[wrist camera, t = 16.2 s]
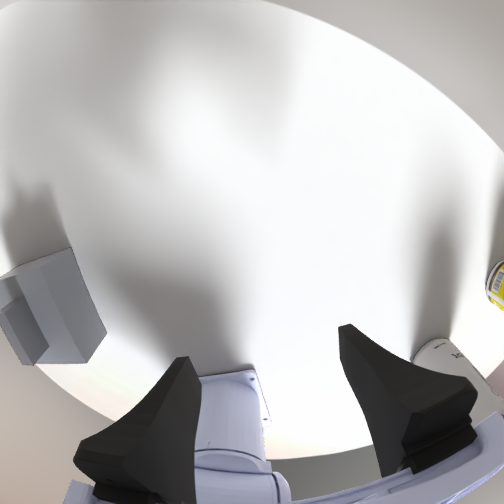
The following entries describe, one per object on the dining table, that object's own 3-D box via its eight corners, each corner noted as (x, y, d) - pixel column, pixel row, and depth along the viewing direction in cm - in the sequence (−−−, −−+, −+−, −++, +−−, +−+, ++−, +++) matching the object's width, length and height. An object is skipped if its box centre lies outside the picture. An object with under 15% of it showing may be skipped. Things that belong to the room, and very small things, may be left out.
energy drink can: (452, 349, 26) (515, 425, 12) (417, 381, 28) (470, 465, 13) (441, 325, 25) (518, 409, 11) (401, 360, 26) (464, 458, 12)
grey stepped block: (107, 333, 24) (72, 385, 16) (50, 338, 24) (15, 380, 17) (71, 247, 21) (16, 281, 13) (17, 266, 21) (-30, 297, 14)
